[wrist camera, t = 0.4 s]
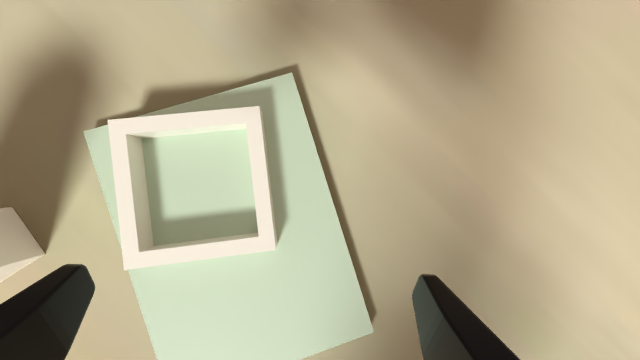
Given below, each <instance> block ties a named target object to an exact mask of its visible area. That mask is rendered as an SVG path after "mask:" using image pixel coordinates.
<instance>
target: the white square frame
mask: <svg viewBox="0 0 640 360" xmlns="http://www.w3.org/2000/svg"><path fill="white" fill-rule="evenodd" d="M108 129H109V138H110V147H111V156H112V165H113V174H114V183H115V192H116V201H117V210H118V219H119V228H120V237H121V246H122V255H123V264H124V270H129V269H136V268H144V267H151V266H159V265H166V264H174V263H181V262H189V261H197V260H204V259H212V258H219V257H227V256H234V255H242V254H249V253H257V252H264V251H272V250H276V248H277V235H276V226H275V217H274V209H273V200H272V191H271V182H270V174H269V165H268V156H267V147H266V138H265V130H264V121H263V113H262V111H261V108H260V106H253V107H242V108H232V109H221V110H210V111H199V112H188V113H177V114H166V115H156V116H145V117H134V118H123V119H112V120H108ZM237 129H247V138H248V147H249V156H250V165H251V173H252V182H253V191H254V200H255V209H256V217H257V226H258V233H250V234H242V235H234V236H226V237H219V238H211V239H203V240H195V241H187V242H179V243H171V244H164V245H156V246H154V244H153V235H152V226H151V217H150V209H149V200H148V191H147V182H146V173H145V164H144V155H143V146H142V139H145V138H156V137H166V136H176V135H186V134H196V133H207V132H217V131H227V130H237Z"/></svg>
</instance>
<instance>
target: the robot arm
mask: <svg viewBox="0 0 640 360" xmlns="http://www.w3.org/2000/svg"><path fill="white" fill-rule="evenodd" d="M94 291H95V284H94V282H93V280H92V278H91V276H90V273H89V271H88V269H87V268H86V266H84V265H82V264H66V265H63V266H61V267H60V268H58V269H57V270H55V271H53V272H52V273H50V274H48V275H47V276H45V277H44V278H42V279H40V280H39V281H37V282H36V283H34V284H32V285H31V286H29V287H27V288H26V289H24V290H23V291H21V292H19V293H18V294H16V295H15V296H13V297H11V298H10V299H8V300H7V301H5V302H3V303H2V304H0V360H65V358H66V356H67V354H68V352H69V350H70V348H71V345H72V343H73V341H74V339H75V336H76V334H77V332H78V329H79V327H80V325H81V322H82V320H83V318H84V315H85V313H86V311H87V308H88V306H89V304H90V301H91V299H92V297H93V294H94ZM412 300H413V306H414V311H415V317H416V322H417V328H418V333H419V339H420V344H421V349H422V354H423V358H424V360H520V359H519V358H518V357H517V356H516V355H515V354H514V353H513V352H512V351H511V350H510V349H509V348H508V347H507V346H506V345H505V344H504V343H503V342H502V341H501V340H500V339H499V338H498V337H497V336H496V335H495V334H494V333H493V332H492V331H491V330H490V329H489V328H488V327H487V326H486V325H485V324H484V323H483V322H482V321H481V320H480V319H479V318H478V317H477V316H476V315H475V314H474V313H473V312H472V311H471V310H470V309H469V308H468V307H467V306H466V305H465V304H464V303H463V302H462V301H461V300H460V299H459V298H458V297H457V296H456V295H455V294H454V293H453V292H452V291H451V290H450V289H449V288H448V287H447V286H446V285H445V284H444V283H443V282H442V281H441V280H440V279H439V278H438V277H437V276H435V275H430V274H422V275H420V276H419V278H418V281H417V283H416V285H415V288H414V290H413V294H412Z"/></svg>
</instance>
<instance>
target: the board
mask: <svg viewBox="0 0 640 360" xmlns="http://www.w3.org/2000/svg"><path fill="white" fill-rule="evenodd" d="M253 106H260V108H261V111H262V113H263V121H264V130H265V138H266V147H267V156H268V165H269V174H270V182H271V191H272V200H273V209H274V217H275V226H276V235H277V248H276V250H272V251H264V252H257V253H249V254H242V255H234V256H227V257H219V258H212V259H204V260H197V261H189V262H181V263H174V264H166V265H159V266H151V267H144V268H136V269H129V270H128V271H129V275H130V278H131V281H132V284H133V287H134V290H135V293H136V296H137V299H138V302H139V305H140V308H141V312H142V315H143V318H144V321H145V324H146V327H147V330H148V333H149V336H150V339H151V342H152V345H153V349H154V352H155V355H156V358H157V360H300V359H303V358H306V357H308V356H311V355H314V354H317V353H319V352H322V351H325V350H328V349H330V348H333V347H336V346H338V345H341V344H344V343H347V342H349V341H352V340H355V339H358V338H360V337H363V336H366V335H368V334H371V333H374V330H373V327H372V324H371V321H370V318H369V314H368V311H367V308H366V305H365V302H364V299H363V295H362V292H361V289H360V286H359V283H358V280H357V276H356V273H355V270H354V267H353V264H352V261H351V257H350V254H349V251H348V248H347V245H346V242H345V238H344V235H343V232H342V229H341V226H340V223H339V219H338V216H337V213H336V210H335V207H334V204H333V200H332V197H331V194H330V191H329V188H328V185H327V181H326V178H325V175H324V172H323V169H322V166H321V162H320V159H319V156H318V153H317V150H316V147H315V143H314V140H313V137H312V134H311V131H310V127H309V124H308V121H307V118H306V115H305V112H304V108H303V105H302V102H301V99H300V96H299V93H298V89H297V86H296V83H295V80H294V77H293V74H292V73H288V74H284V75H281V76H277V77H274V78H270V79H267V80H263V81H260V82H256V83H253V84H249V85H246V86H242V87H239V88H235V89H231V90H228V91H224V92H221V93H217V94H214V95H210V96H207V97H203V98H200V99H196V100H193V101H189V102H186V103H182V104H178V105H175V106H171V107H168V108H164V109H161V110H157V111H154V112H150V113H147V114H143V115H140V116H136V117H145V116H156V115H166V114H177V113H188V112H199V111H210V110H221V109H232V108H242V107H253ZM133 118H134V117H133ZM83 133H84V136H85V139H86V142H87V145H88V148H89V151H90V154H91V157H92V160H93V163H94V167H95V170H96V173H97V176H98V179H99V182H100V185H101V188H102V191H103V194H104V197H105V200H106V204H107V207H108V210H109V213H110V216H111V219H112V222H113V225H114V228H115V231H116V234H117V237H118V241H119V244H120V247H121V250H122V246H121V237H120V228H119V219H118V210H117V201H116V192H115V183H114V174H113V165H112V156H111V147H110V138H109V129H108V125H104V126H101V127H97V128H94V129H90V130H87V131H83ZM142 146H143V155H144V164H145V173H146V182H147V191H148V200H149V209H150V217H151V226H152V235H153V244H154V246H156V245H164V244H171V243H179V242H187V241H195V240H203V239H211V238H219V237H226V236H234V235H242V234H250V233H258V226H257V217H256V209H255V200H254V191H253V182H252V173H251V165H250V156H249V147H248V138H247V129H237V130H227V131H217V132H207V133H196V134H186V135H176V136H166V137H156V138H145V139H142Z"/></svg>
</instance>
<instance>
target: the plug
mask: <svg viewBox="0 0 640 360" xmlns="http://www.w3.org/2000/svg"><path fill="white" fill-rule="evenodd" d="M43 255H45V253H44V251H43V250H42V249H41V247H40V246H39V244H38V243H37V241H36V240H35V239H34V237H33V236H32V234H31V233H30V232H29V230H28V229H27V227H26V226H25V224H24V223H23V222H22V220H21V219H20V217H19V216H18V215H17V213H16V212H15V210H14V209H13V207H8V208H0V282H2V281H4V280H5V279H7V278H8V277H10V276H11V275H13V274H15V273H16V272H18V271H19V270H21V269H23V268H24V267H26V266H27V265H29V264H30V263H32V262H34V261H35V260H37V259H38V258H40V257H41V256H43Z"/></svg>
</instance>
